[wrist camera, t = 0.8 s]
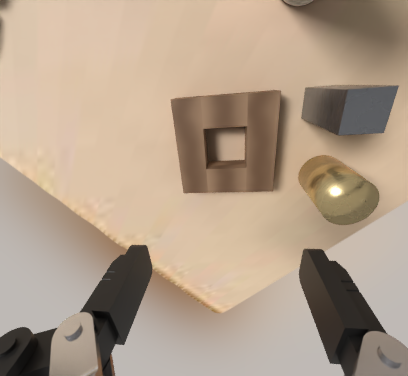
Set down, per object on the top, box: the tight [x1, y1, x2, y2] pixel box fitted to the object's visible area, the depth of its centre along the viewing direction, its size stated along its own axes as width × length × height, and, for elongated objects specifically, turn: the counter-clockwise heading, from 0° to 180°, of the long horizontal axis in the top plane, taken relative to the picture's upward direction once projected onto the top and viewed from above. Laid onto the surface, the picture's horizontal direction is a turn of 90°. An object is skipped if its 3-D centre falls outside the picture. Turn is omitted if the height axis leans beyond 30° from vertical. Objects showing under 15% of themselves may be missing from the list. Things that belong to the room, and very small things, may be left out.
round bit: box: [298, 155, 379, 225], centre depth 29 cm, size 6×6×9 cm
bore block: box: [171, 90, 281, 193], centre depth 30 cm, size 14×14×4 cm
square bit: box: [301, 85, 398, 135], centre depth 23 cm, size 4×4×11 cm
